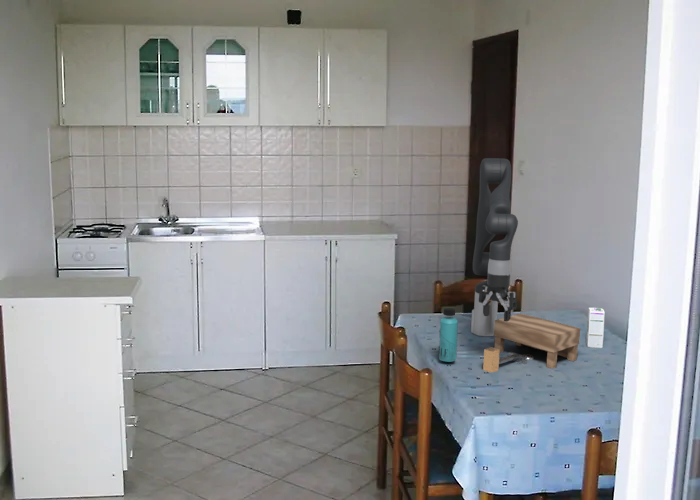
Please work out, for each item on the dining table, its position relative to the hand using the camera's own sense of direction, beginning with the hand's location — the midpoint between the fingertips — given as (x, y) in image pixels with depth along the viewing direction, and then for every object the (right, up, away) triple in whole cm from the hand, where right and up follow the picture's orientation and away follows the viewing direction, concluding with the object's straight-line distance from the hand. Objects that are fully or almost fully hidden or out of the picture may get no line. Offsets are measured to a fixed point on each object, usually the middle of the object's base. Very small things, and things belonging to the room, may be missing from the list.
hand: (496, 318), depth 267 cm
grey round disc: (+15, -16, +17) cm, 28 cm away
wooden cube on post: (+4, -18, +8) cm, 20 cm away
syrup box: (+44, -14, +34) cm, 57 cm away
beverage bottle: (-16, -17, +10) cm, 25 cm away
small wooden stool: (+18, -16, +20) cm, 31 cm away
